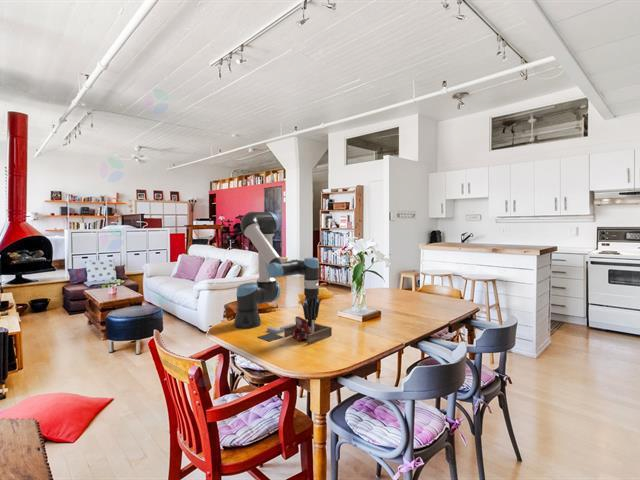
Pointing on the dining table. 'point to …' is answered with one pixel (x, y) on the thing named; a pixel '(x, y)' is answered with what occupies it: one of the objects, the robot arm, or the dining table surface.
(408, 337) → the dining table surface
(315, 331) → the walnut cubby
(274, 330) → the slate-blue stick
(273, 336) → the black hole patch
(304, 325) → the toy fire truck
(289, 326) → the grey metal crook tool
